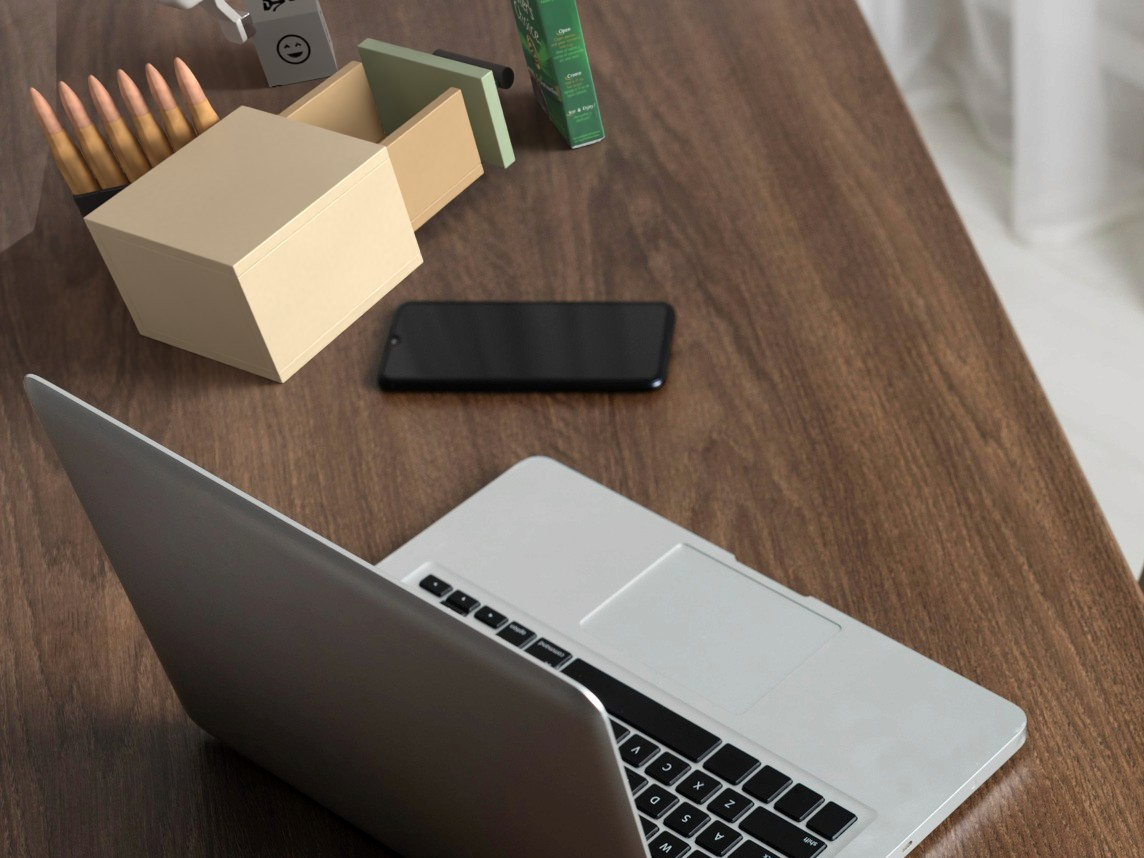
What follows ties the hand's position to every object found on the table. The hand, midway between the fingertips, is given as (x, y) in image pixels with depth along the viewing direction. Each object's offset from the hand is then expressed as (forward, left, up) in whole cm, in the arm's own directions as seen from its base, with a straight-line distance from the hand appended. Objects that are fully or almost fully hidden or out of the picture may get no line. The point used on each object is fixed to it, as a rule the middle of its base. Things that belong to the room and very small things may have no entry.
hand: (286, 7), depth 126 cm
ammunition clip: (+8, -21, -5) cm, 23 cm away
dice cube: (0, 0, -5) cm, 5 cm away
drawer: (+18, -9, -4) cm, 21 cm away
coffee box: (+23, +2, -5) cm, 23 cm away
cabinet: (+18, -23, -5) cm, 30 cm away
